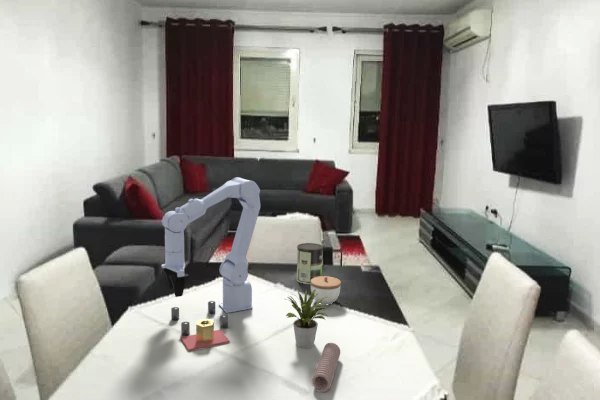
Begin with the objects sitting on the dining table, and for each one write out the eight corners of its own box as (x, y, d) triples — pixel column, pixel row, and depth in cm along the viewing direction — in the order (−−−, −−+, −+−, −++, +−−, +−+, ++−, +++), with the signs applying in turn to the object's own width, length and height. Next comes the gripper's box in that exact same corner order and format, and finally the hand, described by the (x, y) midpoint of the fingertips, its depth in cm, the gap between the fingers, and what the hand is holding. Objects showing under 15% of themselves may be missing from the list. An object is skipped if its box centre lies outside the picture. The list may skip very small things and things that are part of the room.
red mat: (220, 331, 144) (220, 329, 144) (229, 342, 137) (229, 340, 137) (181, 339, 138) (181, 337, 138) (188, 351, 132) (188, 349, 131)
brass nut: (211, 334, 141) (211, 317, 140) (216, 340, 137) (216, 323, 136) (194, 337, 138) (193, 321, 138) (198, 344, 135) (198, 327, 134)
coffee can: (321, 276, 196) (322, 243, 194) (322, 285, 186) (323, 250, 183) (296, 275, 196) (297, 242, 194) (295, 284, 186) (296, 249, 184)
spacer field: (214, 310, 159) (214, 300, 159) (229, 327, 147) (229, 316, 146) (170, 318, 152) (170, 307, 152) (182, 336, 140) (182, 325, 139)
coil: (323, 341, 131) (310, 374, 114) (340, 341, 130) (329, 375, 112) (324, 356, 132) (311, 393, 114) (341, 357, 130) (330, 394, 113)
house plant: (290, 361, 127) (291, 304, 125) (269, 339, 139) (270, 286, 137) (335, 350, 134) (338, 295, 131) (312, 330, 146) (313, 280, 143)
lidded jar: (305, 304, 166) (306, 278, 165) (316, 294, 176) (316, 270, 174) (334, 310, 162) (335, 283, 161) (343, 299, 172) (344, 274, 170)
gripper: (156, 245, 151) (157, 286, 154) (167, 258, 139) (168, 302, 141) (178, 243, 155) (179, 283, 157) (191, 255, 142) (191, 298, 145)
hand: (175, 291), depth 149 cm, fingers open, 7 cm apart
